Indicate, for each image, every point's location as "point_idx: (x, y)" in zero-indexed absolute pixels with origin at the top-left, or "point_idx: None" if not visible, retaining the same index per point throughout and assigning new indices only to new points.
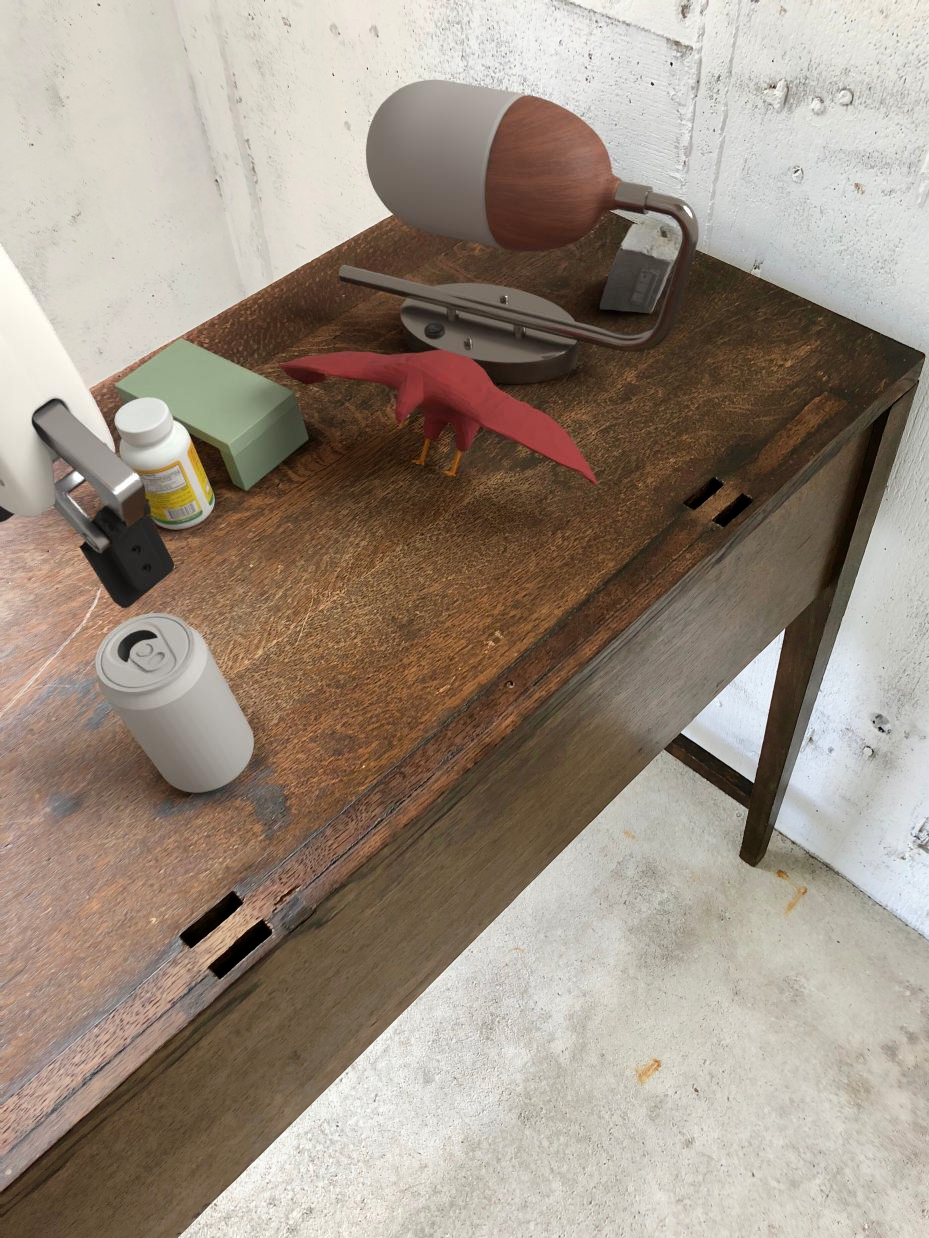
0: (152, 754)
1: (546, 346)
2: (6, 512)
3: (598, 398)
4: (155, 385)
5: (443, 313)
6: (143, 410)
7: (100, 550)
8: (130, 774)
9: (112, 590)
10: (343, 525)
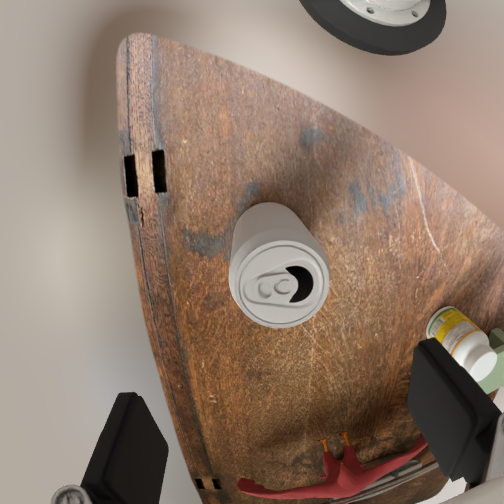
0: (258, 214)
1: None
2: (417, 361)
3: None
4: (499, 362)
5: (399, 473)
6: (484, 369)
7: (56, 492)
8: (297, 184)
9: (108, 418)
10: (351, 386)
